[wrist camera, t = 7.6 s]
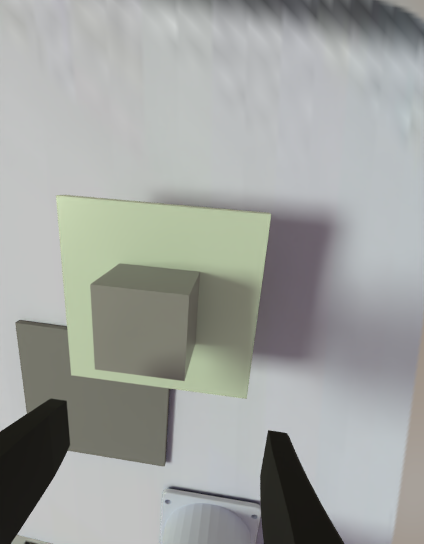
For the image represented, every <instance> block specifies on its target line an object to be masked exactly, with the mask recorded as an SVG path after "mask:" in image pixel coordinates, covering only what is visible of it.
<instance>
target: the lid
mask: <svg viewBox="0 0 424 544" xmlns="http://www.w3.org/2000/svg"><path fill="white" fill-rule="evenodd" d="M56 201H57V212H58V224H59V236H60V248H61V260H62V272H63V284H64V295H65V307H66V319H67V331H68V343H69V355H70V367H71V375H73V376H81V377H88V378H96V379H103V380H110V381H118V382H125V383H133V384H140V385H148V386H155V387H163V388H170V389H178V390H185V391H192V392H200V393H207V394H215V395H222V396H230V397H237V398H245V399H247V391H248V384H249V376H250V369H251V362H252V354H253V347H254V339H255V332H256V324H257V317H258V309H259V302H260V294H261V287H262V280H263V272H264V265H265V257H266V250H267V242H268V235H269V227H270V220H271V213H266V212H254V211H243V210H231V209H220V208H209V207H197V206H186V205H174V204H163V203H151V202H140V201H129V200H117V199H106V198H94V197H83V196H71V195H57V196H56Z"/></svg>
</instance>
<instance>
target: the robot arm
mask: <svg viewBox="0 0 424 544" xmlns="http://www.w3.org/2000/svg"><path fill="white" fill-rule="evenodd" d="M69 447H70V436H69V423H68V410H67V401H65V400H58V399H52V398H50V399H49V400H47V401H46V402H44V403H43V404H41V405H40V406H38V407H37V408H35V409H34V410H32V411H31V412H29V413H28V414H26V415H25V416H23V417H22V418H20V419H19V420H17V421H16V422H14V423H13V424H11V425H10V426H8V427H7V428H5V429H4V430H2V431H1V432H0V544H11V543H12V541H13V540H14V538H15V537H16V535H17V534H18V532H19V531H20V529H21V527H22V526H23V524H24V523H25V521H26V520H27V518H28V517H29V515H30V514H31V512H32V511H33V509H34V507H35V506H36V504H37V503H38V501H39V500H40V498H41V497H42V495H43V494H44V492H45V490H46V489H47V487H48V486H49V484H50V483H51V481H52V479H53V478H54V476H55V474H56V472H57V471H58V469H59V467H60V465H61V463H62V461H63V459H64V457H65V455H66V453H67V451H68V449H69ZM260 492H261V506H260V505H259V504H256V503H251V502H245V501H239V500H233V499H228V498H222V497H216V496H210V495H204V494H198V493H192V492H187V491H181V490H175V489H165V490H164V492H163V495H162V512H161V530H160V544H255V543H256V538H257V533H258V528H259V523H260V518H262V528H263V539H264V544H344V542H343V541H342V539H341V537H340V536H339V534H338V532H337V531H336V529H335V527H334V525H333V524H332V522H331V520H330V519H329V517H328V515H327V513H326V512H325V510H324V508H323V506H322V504H321V503H320V501H319V499H318V497H317V495H316V493H315V491H314V489H313V487H312V485H311V484H310V482H309V480H308V478H307V476H306V474H305V471H304V469H303V467H302V465H301V463H300V461H299V459H298V457H297V454H296V452H295V450H294V447H293V445H292V443H291V440H290V438H289V436H288V435H287V433H283V432H276V431H269V430H268V435H267V440H266V446H265V452H264V458H263V463H262V469H261V475H260Z"/></svg>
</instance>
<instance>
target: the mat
mask: <svg viewBox="0 0 424 544" xmlns="http://www.w3.org/2000/svg"><path fill="white" fill-rule="evenodd" d="M15 324H16V331H17V339H18V347H19V355H20V363H21V371H22V379H23V386H24V394H25V402H26V410H27V414H28V413H29V412H31V411H32V410H34V409H35V408H37V407H38V406H40V405H41V404H43V403H44V402H46V401H47V400H49V399H50V398H52V399H58V400H65V401H67V410H68V423H69V436H70V447H69V449H68V451H74V452H80V453H86V454H92V455H98V456H104V457H110V458H116V459H122V460H128V461H134V462H140V463H146V464H152V465H158V466H165V462H166V445H167V427H168V409H169V391H170V388H163V387H155V386H148V385H140V384H133V383H125V382H118V381H110V380H103V379H96V378H88V377H81V376H73V375H71V367H70V355H69V343H68V331H67V327H66V326H58V325H51V324H44V323H36V322H29V321H22V320H19V321H17V322H16V323H15Z"/></svg>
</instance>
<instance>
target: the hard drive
mask: <svg viewBox="0 0 424 544" xmlns="http://www.w3.org/2000/svg"><path fill="white" fill-rule="evenodd" d="M11 544H52V543H47V542H43V541H40V540H36V539H31V538H27V537H23V536H19V535H16V537H15V538H14V540H13V541H12V543H11Z"/></svg>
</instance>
